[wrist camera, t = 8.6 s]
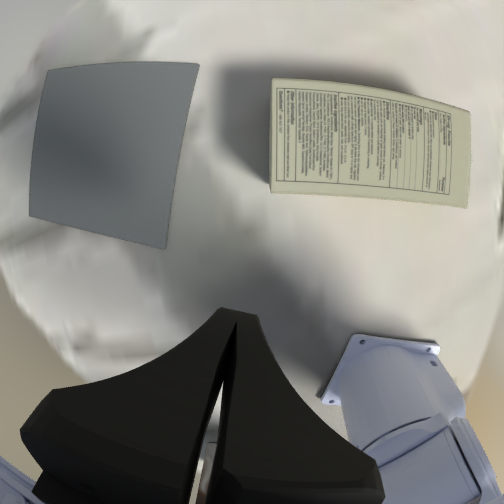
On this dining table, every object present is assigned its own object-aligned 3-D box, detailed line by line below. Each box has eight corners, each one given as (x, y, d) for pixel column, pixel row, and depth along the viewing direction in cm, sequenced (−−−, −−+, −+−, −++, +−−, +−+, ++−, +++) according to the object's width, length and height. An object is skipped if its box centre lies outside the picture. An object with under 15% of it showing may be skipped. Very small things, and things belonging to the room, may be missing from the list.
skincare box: (267, 187, 18) (434, 203, 18) (266, 194, 14) (468, 215, 13) (270, 90, 16) (438, 117, 16) (270, 70, 12) (473, 111, 12)
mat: (199, 65, 16) (198, 63, 16) (165, 248, 20) (164, 249, 20) (50, 71, 16) (47, 70, 16) (31, 215, 20) (29, 216, 20)
